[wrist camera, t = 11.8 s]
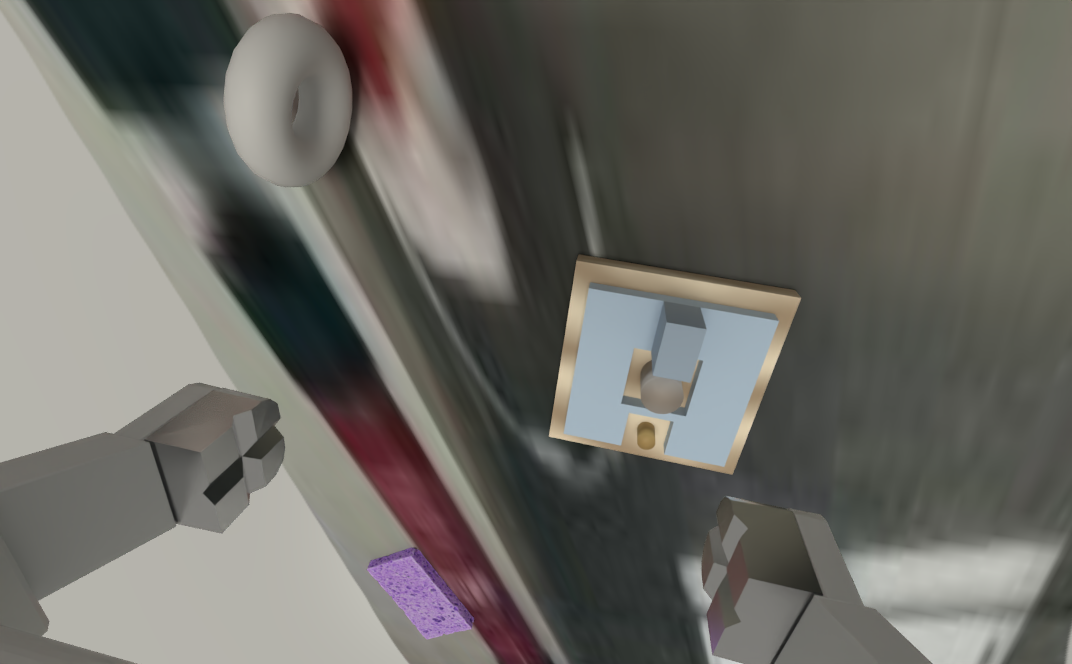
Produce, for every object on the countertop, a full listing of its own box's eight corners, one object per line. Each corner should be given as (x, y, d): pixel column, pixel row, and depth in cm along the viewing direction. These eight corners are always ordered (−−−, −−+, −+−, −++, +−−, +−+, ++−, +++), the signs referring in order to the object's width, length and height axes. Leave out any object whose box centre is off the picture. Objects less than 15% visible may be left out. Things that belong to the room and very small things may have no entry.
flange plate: (590, 282, 36) (584, 307, 32) (774, 313, 35) (793, 344, 30) (565, 425, 42) (557, 462, 38) (721, 456, 41) (731, 499, 36)
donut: (319, 16, 33) (203, -10, 24) (368, 31, 33) (269, 11, 24) (312, 167, 38) (212, 191, 29) (354, 181, 37) (267, 209, 29)
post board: (578, 254, 37) (571, 274, 33) (794, 290, 35) (815, 315, 31) (551, 426, 44) (543, 459, 40) (729, 462, 42) (739, 501, 38)
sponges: (431, 625, 61) (425, 639, 60) (371, 555, 58) (363, 569, 56) (477, 615, 59) (472, 630, 57) (417, 542, 55) (410, 556, 53)
